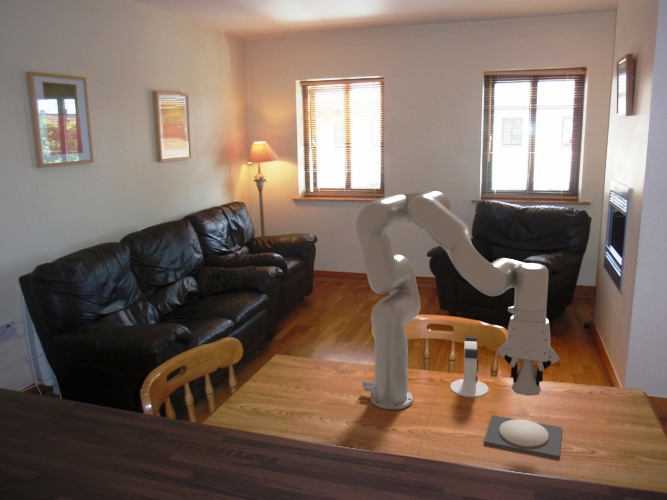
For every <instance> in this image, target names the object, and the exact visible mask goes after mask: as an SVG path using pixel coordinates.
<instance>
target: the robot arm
mask: <svg viewBox="0 0 667 500" xmlns="http://www.w3.org/2000/svg"><path fill="white" fill-rule="evenodd" d="M451 208H452V207H451V202H450V199H449V197H448V196H447V195H446V194H444V193H443V192H441V191H438V190H430V191H420V192H409V193H406V192H405V193H396V194H394V195H393V194H392V195H389V196H385V197H381V198H378V199H374V200H372V201H370V202H369V203H367V204H366V205H364V206H363V208H362V209H360V211H359V213H358V215H357V218H356V220H355V229H356V234H357V235H356V236H357V238H358V241H359V244H360V248H361V253H362V257H363V262H364V267H365V272H366V277H367V282H368V284H369V287H370V289H371V290H372V291H373V292H374V293H375V294H378V295H385V294H388V293H389V294H388V295H387V296H386V297H384V298H382V299H380V300H379V301H378V302H376V304H375V305H374V306H373V307H372V311H371V315H370V319H371V326H372V330H373V337H374V339H373V340H374V379H375V380H374V381H373V382H370V381H367V380H363V381H362V388H363V391H364V392H370V394H369V395H370V396H369V399H370V402H371V404H372V405H373V406H375V407H377V408H380V409H383V410H389V411H390V410H391V411H393V410H394V411H395V410H396V411H397V410H402V409H405V408H408V407H409V406H411V405H412V403H413V402H414V396H413V393H412V392H410V391H409V389H408V387H409V385H408V382H409V381H408V380H409V379H408V377H409V371H408V369H409V366H408V365H409V363H408V362H409V360H408V359H409V351H408V347H409V344H408V343H409V342H408V337H407V333H406V331H405V325H407V324H409V323H410V322H411V321H413V320H414V319H415V318H417V316H418V315H419V313H420V311H421V306H422V305H421V297H420V293H419V289H418V287H419V286H418V283H417V279H416V273H415V269H414V267H413V265H412V263H411V262H410V260H409V259H408V258H407V257H406V256H405V255H402V254H400V253H399V254H398V253H396V254H394V251H393V246H392V242H391V240H390V237H388V235H387V233H386V231H387V230H389V229H391V228H394V227H396V226H400V225H402V224H405V223H406V224H407V223H413V224H414V225H415V227H417V228H419V229H420V230H421V231H422V232H423V233H425V235H427V236H428V237H429V238H430V239H432V241H434V242H435V243H437V245H438V246H440V247H441V248H442V249H443V250H444V251H445V252H446V253H447V256H448V257H449V260H450V261H451V263H452V264H453V267H454V268H455V269H456V271H457V272H458V274H459V275H460V276H461V277H462V278H463V279H465V281H467V282H468V283H469V284H470V285H471V286H473V287H474V288H475V289H476V290H477V291H479V292H481V294H484V295H486V296H489V297H497V296H500V295H502V294H504V293H506V291H508V290H509V289H512V288H513V289H514V301H513V302H514V303H513V306H508V308H507V313H510V314H512V315H511V316H510V319H509V322H508V327H507V334H506V341H505V342H504V343H503V344H502V345H501V346H500V347H499V348H498V350H497V354H498V355H499V356H501V357H503V359H504V360H505V361H506V362H507V363H508V365H509V366H510V378H513V379H512V382H513V383H514V382H516V378H517V374H518V372H519V370H518V367H519V365H518V360H522V359H523V360H531V361H533V362H536V363H537V369H536V372H535V373H536V384H537V386H539V385H540V383H541V382H543V380H544V379H543V378H544V371H545V370H546V369H548V367H550V366H552V365H553V364H555V363H557V362H559V361H560V356H559V355H558V354H557V352H556V351H555V349H554V348H553V347H552V346H551V329H550V321H549V319H548V318H547V307H548V306H547V305H548V291H549V290H548V289H549V288H548V287H549V269H548V268H547V266H546V265H544V264H541V263H537V262H536V263H535V262H522V261H519V260H515V259H513V258H507V257H501V258H498V259H496V260H494V261H493V262H490V261H488V260H487V259H486V258H485V257H484V256H482V254H481V253H480V252H479V251H478V250H477V249H476V248H475V246H474V245H473V243H472V239H471V230H470V229H471V228H470V227H469V226H468V224H467V223H466V222H464V221H462V220H461V219H460V218H459V217H458V216H457V215H455V214H454V213H453V212H451V210H452V209H451Z"/></svg>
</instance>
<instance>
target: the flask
mask: <svg viewBox="0 0 667 500" xmlns="http://www.w3.org/2000/svg"><path fill="white" fill-rule="evenodd" d="M536 373H537V372H536V369H535V365H534V361H531V360H523V359H521V364H520V368H519V370H518V374H517V378H516V382H513V383H512V385H511V390H512V391H513V392H514V393H515V394H518V395H523V396H528V397H530V396H538V395H540V393H541V391H542V390H541V385H540V384H539V386H537V384H536Z"/></svg>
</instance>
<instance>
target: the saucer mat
mask: <svg viewBox="0 0 667 500" xmlns="http://www.w3.org/2000/svg"><path fill="white" fill-rule="evenodd" d="M562 431H563V427H562V426H557V425H552V424H551V425H550V424H545V423H539V422H534V421H532V420H528V419H526V420H525V419H519V418H518V419H517V418H511V417H506V416H499V415H494V414H491V417H490V420H489V423H488V426H487V430H486V432H485V436H484V439H483V445H486V446H490V447H491V446H492V447H495V448H496V447H498V448H502V449H506V450H512V451H517V452H523V453H527V454H533V455H538V456H543V457H548V458H551V459H552V458H553V459H556V460H560V456H561V443H562V433H563V432H562Z"/></svg>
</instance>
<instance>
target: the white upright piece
mask: <svg viewBox="0 0 667 500" xmlns="http://www.w3.org/2000/svg"><path fill="white" fill-rule="evenodd" d="M477 337H478V336H464V347H463V348H464V349H463V350H464V351H463V378H462V379H456V380H454V381H452V382H451V384H450V386H449V388H450V390H451V392H453V393H454V394H456V395H459V396H462V397H466V398H480V397H483V396H485V395H487V394H488V393H489V386H487V384H486V383H484V382H482V381H480V380H478V376H477V375H478V371H479V354H478V353H479V347H478V343H477V342H478V338H477Z"/></svg>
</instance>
